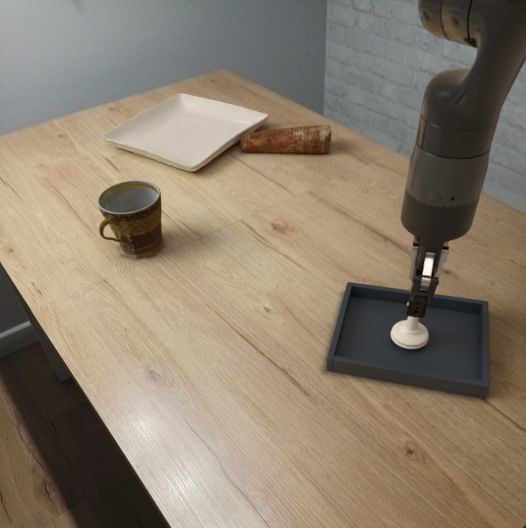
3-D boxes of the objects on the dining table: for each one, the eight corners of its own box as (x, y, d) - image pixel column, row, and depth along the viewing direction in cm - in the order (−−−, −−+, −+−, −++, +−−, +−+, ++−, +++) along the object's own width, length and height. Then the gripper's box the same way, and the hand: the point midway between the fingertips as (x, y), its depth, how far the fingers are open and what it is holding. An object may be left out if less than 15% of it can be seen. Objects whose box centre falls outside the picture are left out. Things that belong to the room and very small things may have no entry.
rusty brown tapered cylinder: (330, 158, 107) (331, 132, 103) (239, 157, 109) (237, 131, 105) (331, 144, 111) (332, 118, 107) (244, 143, 113) (242, 118, 109)
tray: (483, 315, 73) (488, 301, 71) (483, 401, 63) (489, 387, 61) (346, 295, 78) (347, 281, 76) (325, 372, 68) (326, 358, 66)
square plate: (101, 152, 114) (96, 134, 111) (182, 106, 129) (179, 90, 126) (195, 183, 103) (192, 164, 100) (271, 129, 117) (271, 111, 115)
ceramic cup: (136, 226, 93) (122, 175, 86) (182, 238, 90) (172, 186, 83) (90, 268, 86) (71, 216, 78) (139, 283, 82) (124, 230, 75)
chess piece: (388, 323, 71) (398, 265, 64) (424, 323, 71) (438, 264, 64) (393, 349, 68) (404, 290, 61) (431, 349, 68) (447, 290, 60)
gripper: (481, 226, 48) (443, 352, 61) (482, 155, 57) (448, 278, 69) (399, 217, 49) (379, 341, 62) (412, 150, 58) (392, 270, 71)
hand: (416, 307), depth 66 cm, fingers closed on chess piece
